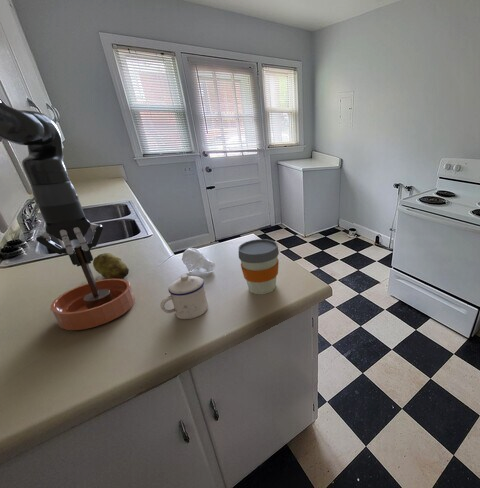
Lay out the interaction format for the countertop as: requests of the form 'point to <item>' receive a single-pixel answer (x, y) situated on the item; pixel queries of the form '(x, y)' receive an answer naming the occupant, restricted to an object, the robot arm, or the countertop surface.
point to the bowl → (79, 317)
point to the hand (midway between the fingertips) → (84, 263)
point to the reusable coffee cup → (259, 264)
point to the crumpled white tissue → (196, 260)
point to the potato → (110, 266)
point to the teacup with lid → (187, 297)
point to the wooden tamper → (92, 284)
